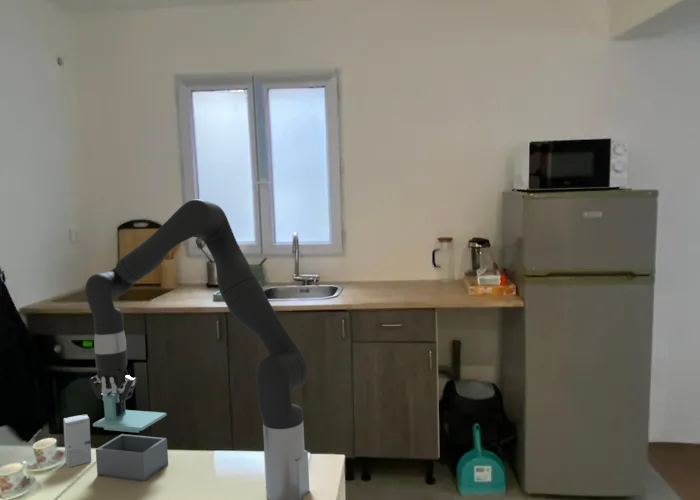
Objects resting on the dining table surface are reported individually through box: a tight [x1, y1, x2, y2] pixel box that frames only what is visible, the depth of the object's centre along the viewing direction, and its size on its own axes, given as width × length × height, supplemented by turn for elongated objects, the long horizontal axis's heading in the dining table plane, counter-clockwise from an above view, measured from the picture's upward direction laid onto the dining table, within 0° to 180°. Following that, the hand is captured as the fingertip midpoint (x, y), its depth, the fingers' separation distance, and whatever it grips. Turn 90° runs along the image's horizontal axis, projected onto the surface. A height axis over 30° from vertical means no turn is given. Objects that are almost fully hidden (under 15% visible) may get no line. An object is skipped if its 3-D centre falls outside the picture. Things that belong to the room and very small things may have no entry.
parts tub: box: [95, 433, 169, 483], centre depth 150 cm, size 14×10×7 cm
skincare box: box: [62, 413, 92, 468], centre depth 156 cm, size 6×4×12 cm
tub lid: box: [92, 393, 168, 433], centre depth 149 cm, size 14×10×8 cm
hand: (115, 414), depth 150 cm, fingers closed on tub lid, 2 cm apart
